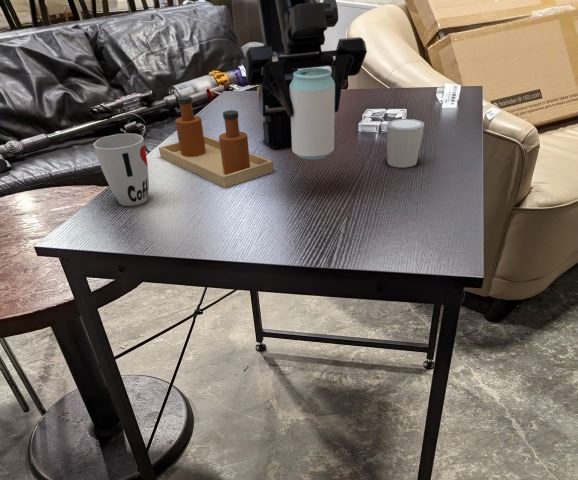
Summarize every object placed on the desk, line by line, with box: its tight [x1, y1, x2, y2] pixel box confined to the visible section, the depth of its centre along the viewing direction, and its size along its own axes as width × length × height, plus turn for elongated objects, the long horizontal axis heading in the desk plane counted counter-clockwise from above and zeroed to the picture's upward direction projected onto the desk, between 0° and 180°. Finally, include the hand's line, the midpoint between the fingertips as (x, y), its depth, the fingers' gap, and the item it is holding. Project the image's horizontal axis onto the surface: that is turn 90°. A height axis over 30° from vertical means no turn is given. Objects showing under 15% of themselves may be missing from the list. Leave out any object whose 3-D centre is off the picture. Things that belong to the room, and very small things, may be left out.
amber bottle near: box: [218, 109, 250, 175], centre depth 97 cm, size 5×5×10 cm
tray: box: [158, 134, 274, 189], centre depth 105 cm, size 24×11×2 cm, turn 39°
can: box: [290, 67, 336, 160], centre depth 84 cm, size 7×7×12 cm
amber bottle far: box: [174, 95, 206, 157], centre depth 107 cm, size 5×5×10 cm
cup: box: [93, 133, 150, 207], centre depth 90 cm, size 8×8×10 cm
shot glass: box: [386, 118, 425, 168], centre depth 99 cm, size 7×7×7 cm
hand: (314, 113), depth 83 cm, fingers closed on can, 7 cm apart
